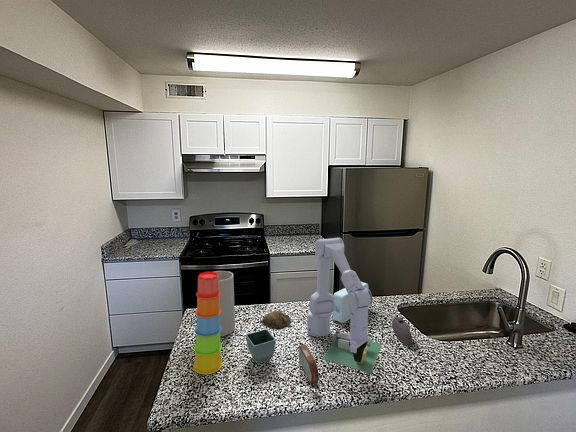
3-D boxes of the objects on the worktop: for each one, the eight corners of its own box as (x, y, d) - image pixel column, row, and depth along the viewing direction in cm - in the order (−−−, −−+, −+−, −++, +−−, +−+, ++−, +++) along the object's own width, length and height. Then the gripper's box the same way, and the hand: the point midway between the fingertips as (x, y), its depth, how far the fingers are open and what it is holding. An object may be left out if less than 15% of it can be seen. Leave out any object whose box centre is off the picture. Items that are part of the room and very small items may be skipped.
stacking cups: (206, 354, 118) (202, 268, 113) (228, 361, 114) (224, 272, 108) (187, 370, 109) (181, 277, 104) (210, 378, 105) (205, 282, 99)
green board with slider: (322, 360, 114) (322, 349, 113) (338, 334, 132) (338, 325, 131) (371, 375, 106) (371, 363, 105) (381, 345, 124) (382, 335, 123)
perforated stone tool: (416, 350, 120) (417, 334, 119) (402, 350, 120) (403, 334, 119) (402, 330, 135) (403, 315, 134) (390, 330, 135) (391, 315, 134)
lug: (356, 363, 111) (356, 351, 110) (360, 354, 116) (360, 343, 115) (364, 365, 110) (365, 354, 109) (368, 357, 115) (368, 346, 114)
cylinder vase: (240, 326, 139) (239, 273, 135) (222, 340, 128) (220, 283, 124) (219, 320, 145) (216, 269, 141) (200, 333, 134) (197, 278, 130)
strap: (332, 339, 123) (332, 335, 123) (335, 334, 127) (335, 331, 126) (369, 347, 116) (369, 344, 116) (371, 342, 120) (372, 338, 120)
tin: (319, 388, 100) (320, 364, 99) (310, 390, 99) (310, 366, 98) (305, 360, 115) (305, 339, 113) (296, 361, 114) (296, 340, 112)
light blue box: (342, 325, 140) (343, 297, 138) (332, 320, 144) (333, 293, 142) (369, 308, 156) (370, 283, 154) (359, 304, 160) (359, 280, 158)
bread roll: (258, 321, 144) (258, 311, 143) (278, 313, 152) (278, 303, 151) (276, 332, 134) (276, 321, 133) (296, 322, 142) (296, 312, 142)
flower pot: (254, 369, 110) (253, 346, 108) (245, 356, 117) (245, 334, 116) (276, 362, 114) (276, 339, 112) (267, 349, 121) (266, 328, 120)
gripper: (366, 337, 95) (364, 376, 98) (375, 317, 108) (373, 352, 110) (344, 332, 99) (343, 370, 101) (355, 313, 111) (354, 347, 114)
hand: (357, 360), depth 106 cm, fingers closed
